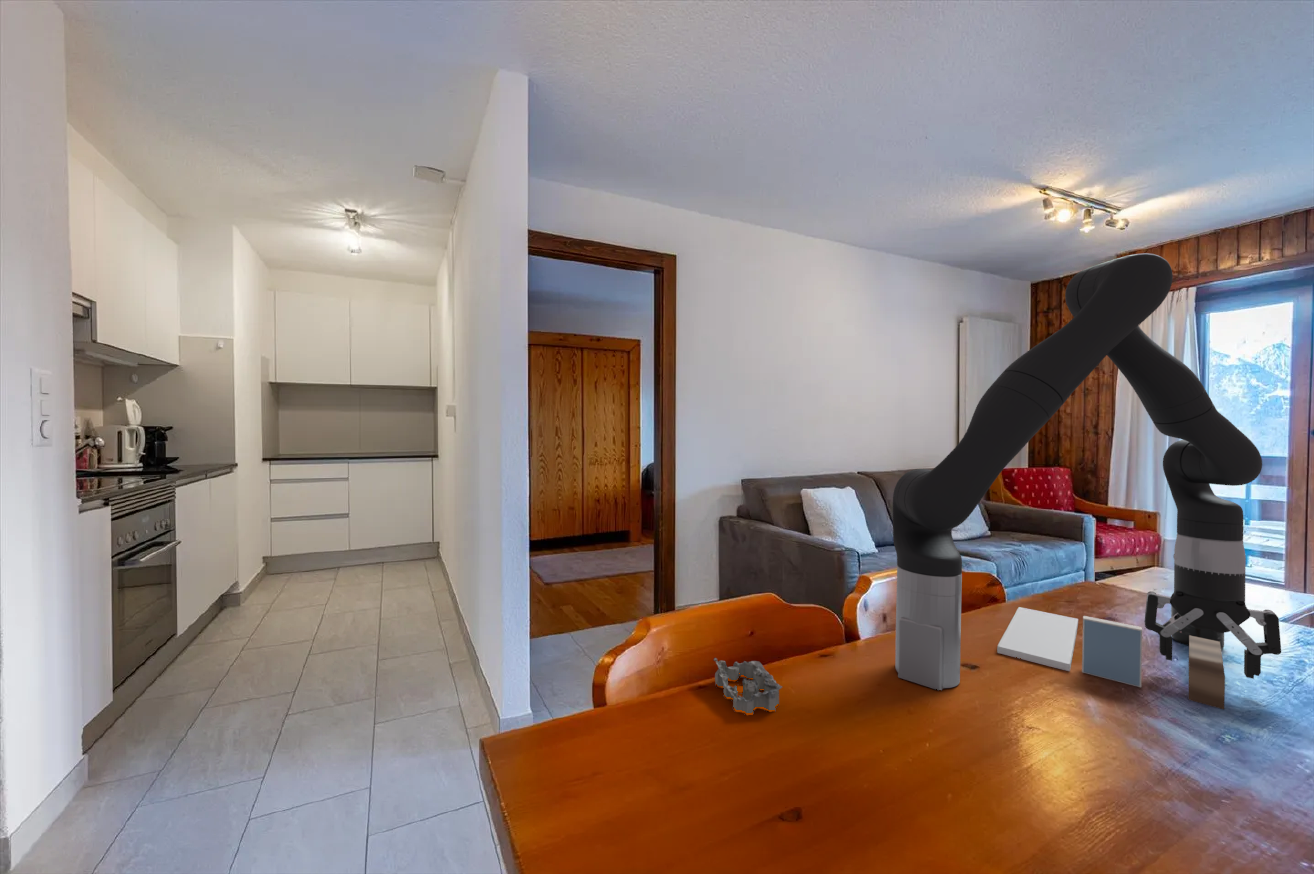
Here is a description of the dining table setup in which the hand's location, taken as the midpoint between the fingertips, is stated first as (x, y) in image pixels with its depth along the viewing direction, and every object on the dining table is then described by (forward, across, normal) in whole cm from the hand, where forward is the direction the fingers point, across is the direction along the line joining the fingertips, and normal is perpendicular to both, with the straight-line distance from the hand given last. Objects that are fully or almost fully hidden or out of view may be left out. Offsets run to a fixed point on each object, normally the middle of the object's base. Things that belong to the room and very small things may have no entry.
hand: (1207, 667), depth 78 cm
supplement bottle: (+3, +1, +22) cm, 22 cm away
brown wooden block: (+3, 0, 0) cm, 3 cm away
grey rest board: (+3, -21, +4) cm, 22 cm away
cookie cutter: (+2, -51, -54) cm, 74 cm away
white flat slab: (+3, -11, -8) cm, 14 cm away
